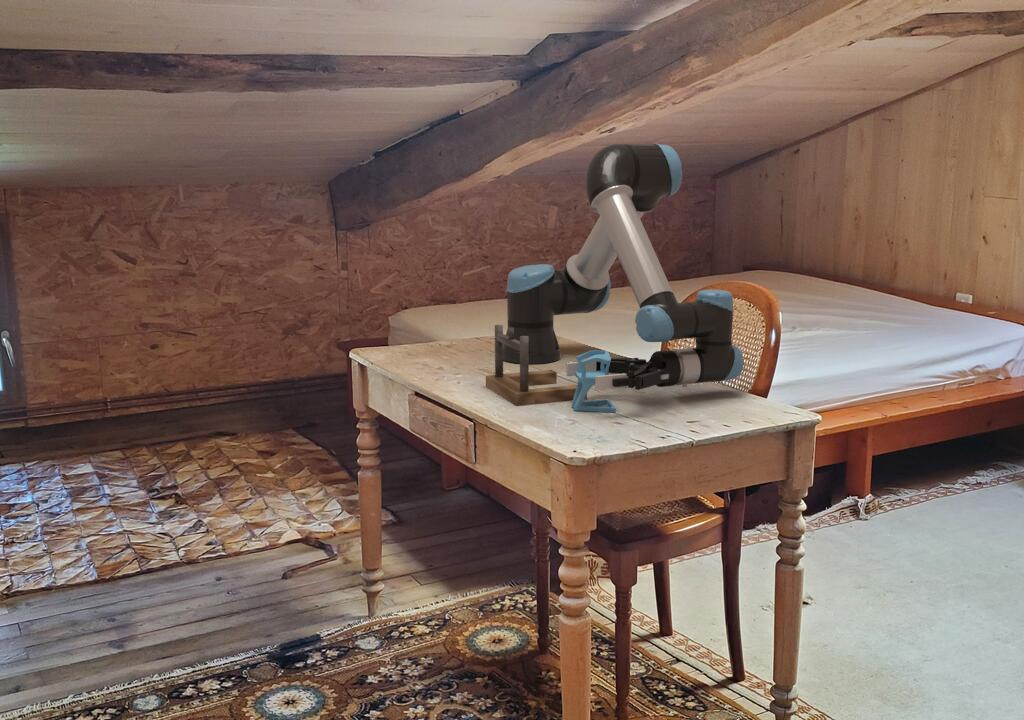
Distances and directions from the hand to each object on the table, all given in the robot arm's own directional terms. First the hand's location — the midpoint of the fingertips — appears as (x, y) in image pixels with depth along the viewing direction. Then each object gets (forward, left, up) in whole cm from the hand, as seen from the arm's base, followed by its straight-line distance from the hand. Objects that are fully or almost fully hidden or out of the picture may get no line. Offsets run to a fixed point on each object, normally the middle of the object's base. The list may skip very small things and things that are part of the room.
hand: (580, 376), depth 200 cm
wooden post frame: (0, -18, -7) cm, 19 cm away
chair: (-3, 0, -7) cm, 8 cm away
